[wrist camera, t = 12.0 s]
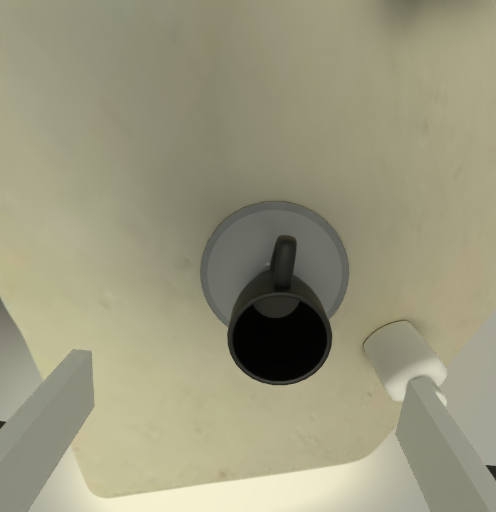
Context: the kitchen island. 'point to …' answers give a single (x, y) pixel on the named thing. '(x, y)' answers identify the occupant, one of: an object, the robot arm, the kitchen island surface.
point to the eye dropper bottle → (404, 359)
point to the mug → (279, 323)
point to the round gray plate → (260, 253)
